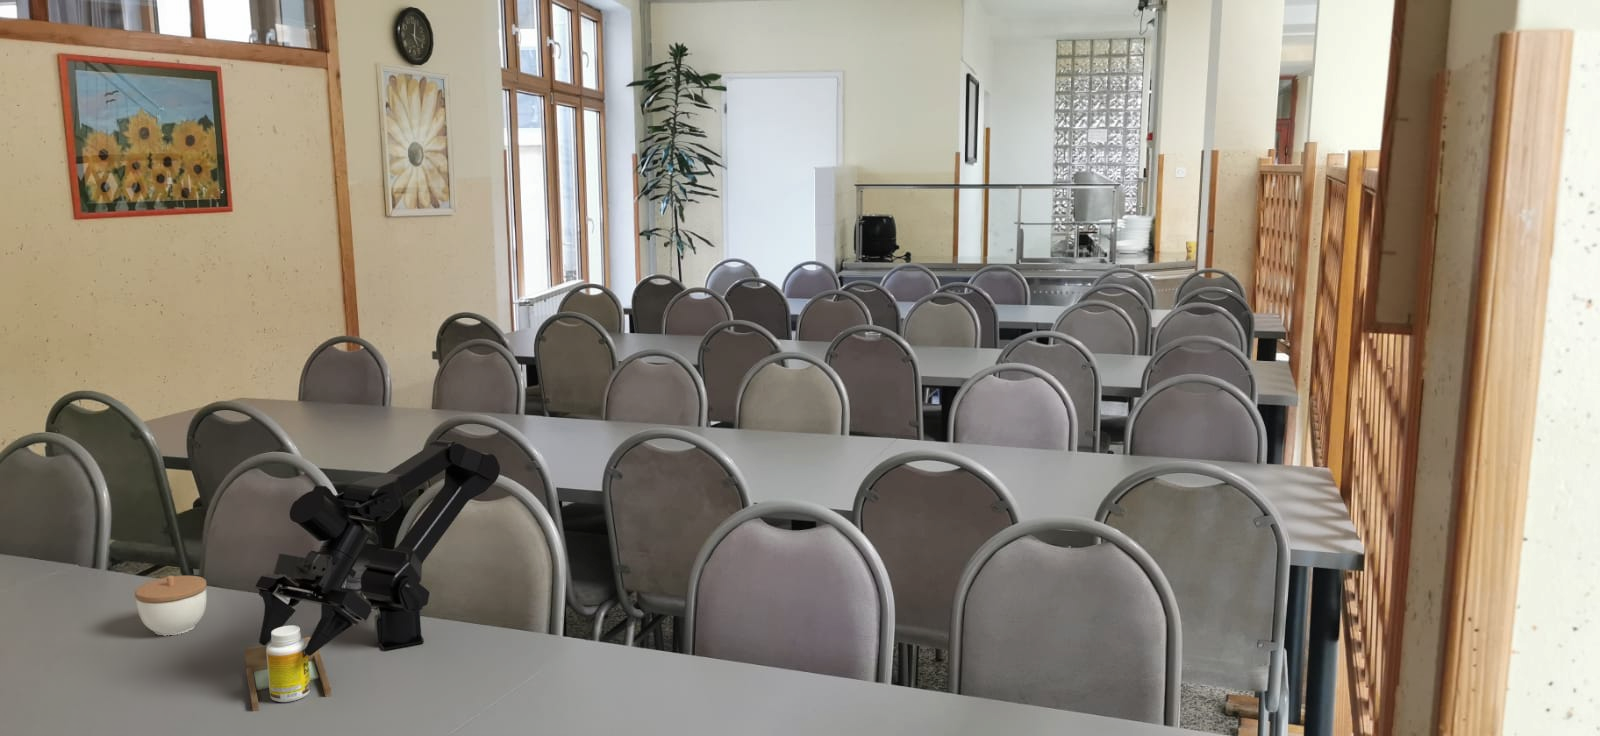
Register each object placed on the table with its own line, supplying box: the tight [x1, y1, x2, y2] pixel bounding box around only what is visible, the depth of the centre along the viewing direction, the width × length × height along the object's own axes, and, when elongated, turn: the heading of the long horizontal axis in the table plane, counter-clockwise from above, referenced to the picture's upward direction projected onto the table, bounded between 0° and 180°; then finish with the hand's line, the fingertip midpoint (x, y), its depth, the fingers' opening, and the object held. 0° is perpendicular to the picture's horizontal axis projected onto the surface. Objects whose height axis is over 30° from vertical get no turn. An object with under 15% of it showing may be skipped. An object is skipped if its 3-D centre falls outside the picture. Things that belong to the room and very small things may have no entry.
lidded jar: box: [134, 575, 208, 637], centre depth 198 cm, size 11×11×9 cm
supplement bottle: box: [266, 624, 311, 703], centre depth 172 cm, size 6×6×10 cm
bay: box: [244, 636, 332, 712], centre depth 177 cm, size 11×15×4 cm
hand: (284, 649), depth 171 cm, fingers open, 9 cm apart
